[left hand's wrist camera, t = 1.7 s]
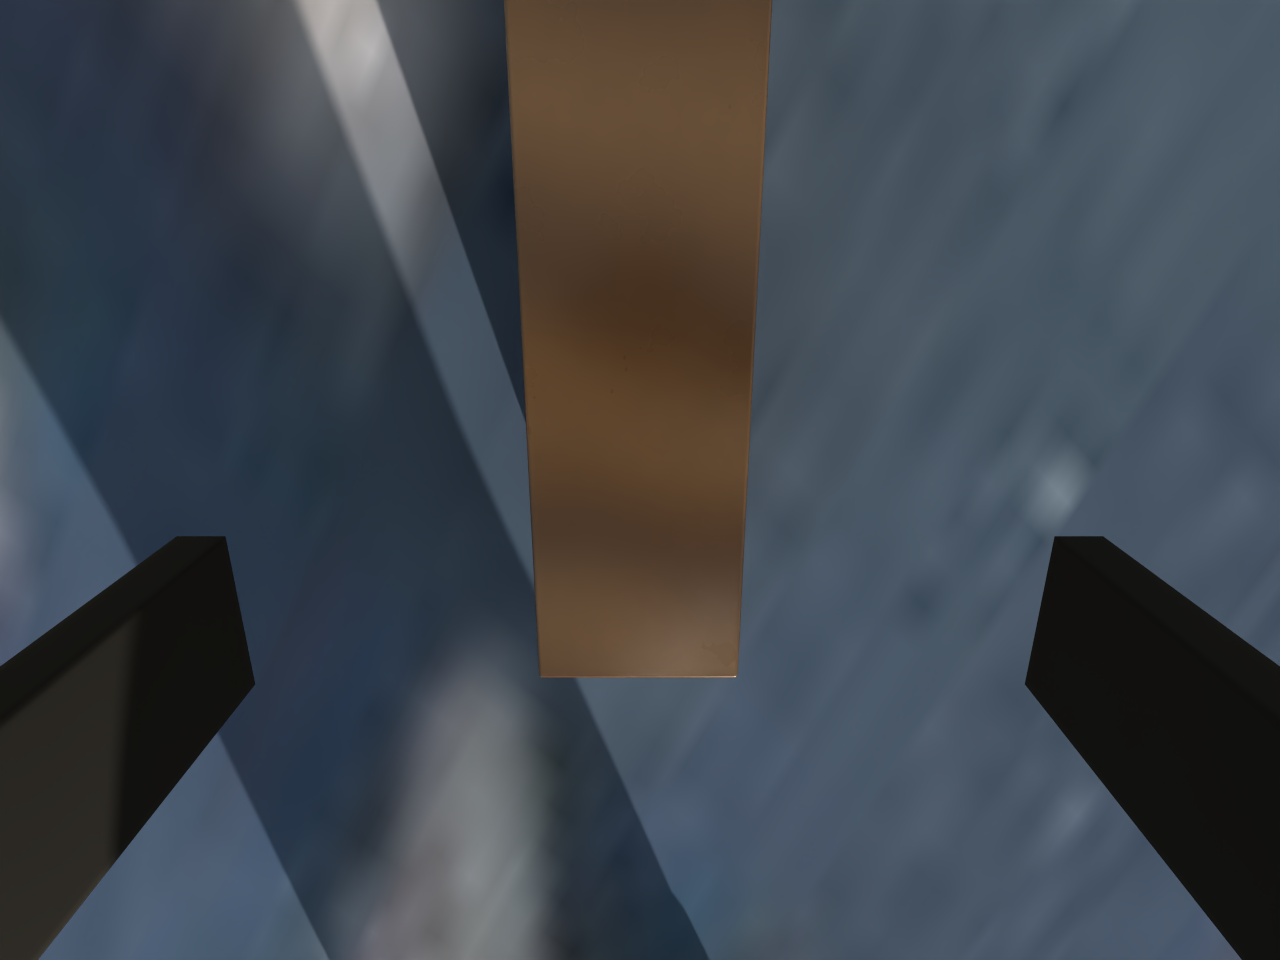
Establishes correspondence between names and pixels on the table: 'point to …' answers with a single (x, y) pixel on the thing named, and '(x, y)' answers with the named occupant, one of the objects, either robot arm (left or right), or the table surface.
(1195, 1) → the table surface
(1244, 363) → the table surface
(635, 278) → the bar
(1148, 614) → the left robot arm
